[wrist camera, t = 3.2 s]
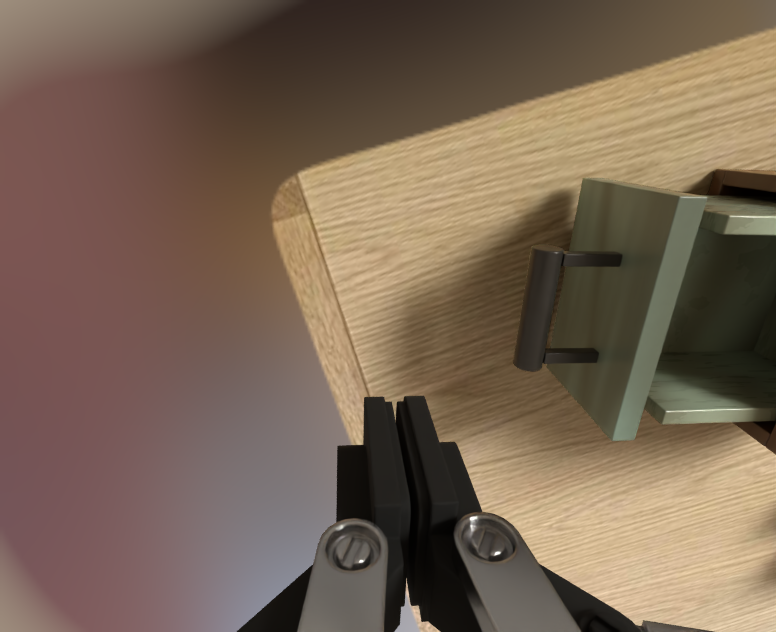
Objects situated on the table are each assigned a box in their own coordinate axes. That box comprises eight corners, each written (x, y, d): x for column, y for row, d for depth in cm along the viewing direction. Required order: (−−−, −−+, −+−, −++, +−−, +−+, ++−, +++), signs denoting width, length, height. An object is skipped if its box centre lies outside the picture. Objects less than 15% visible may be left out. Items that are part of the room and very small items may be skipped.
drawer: (481, 368, 27) (526, 445, 21) (506, 175, 23) (574, 193, 16) (741, 363, 29) (861, 432, 23) (810, 183, 25) (983, 203, 18)
